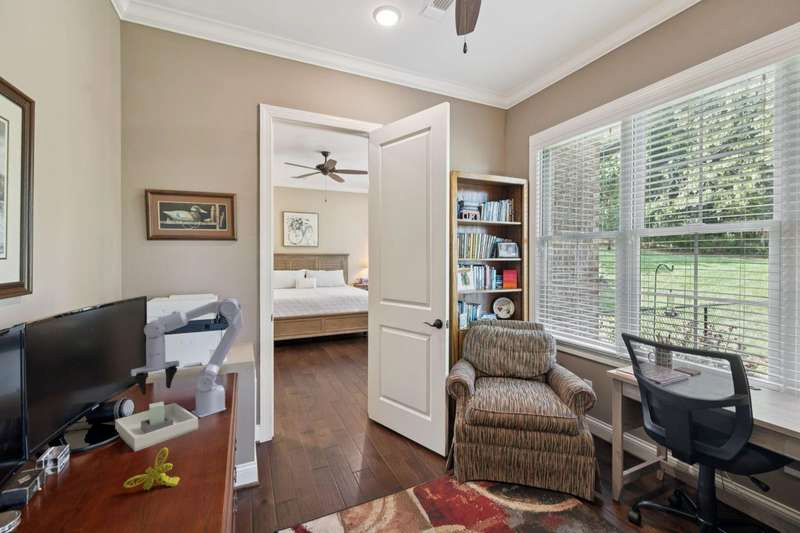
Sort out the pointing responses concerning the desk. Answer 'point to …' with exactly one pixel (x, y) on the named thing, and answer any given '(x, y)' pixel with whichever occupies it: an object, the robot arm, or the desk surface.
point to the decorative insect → (155, 474)
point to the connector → (156, 413)
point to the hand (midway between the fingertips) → (156, 390)
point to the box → (155, 427)
